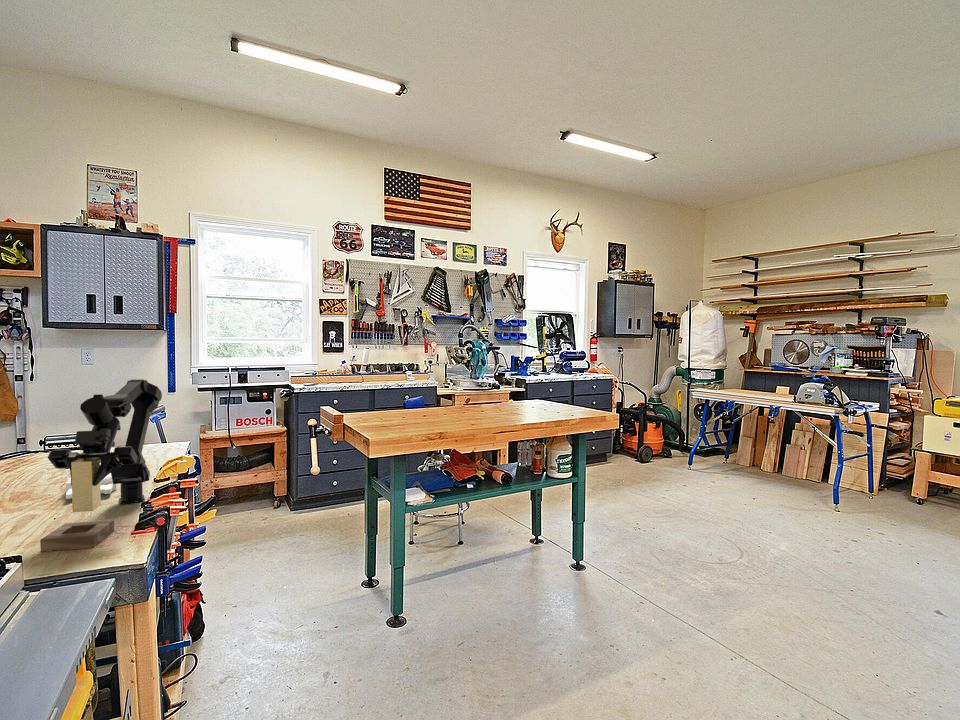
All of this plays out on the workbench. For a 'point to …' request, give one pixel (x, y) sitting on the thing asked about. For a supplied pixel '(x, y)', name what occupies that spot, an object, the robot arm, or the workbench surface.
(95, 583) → the workbench surface
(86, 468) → the pale yellow rectangular block
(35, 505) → the workbench surface
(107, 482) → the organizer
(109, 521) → the walnut block
